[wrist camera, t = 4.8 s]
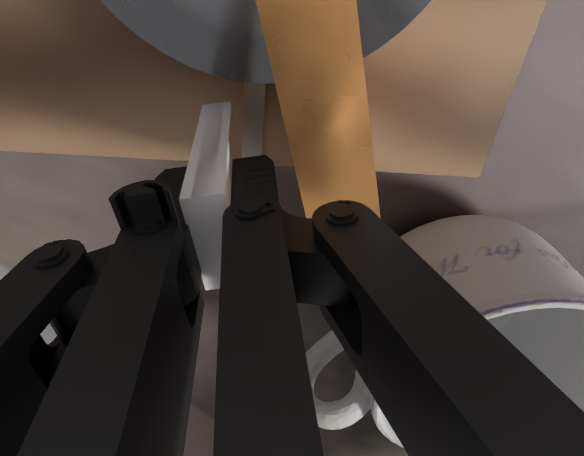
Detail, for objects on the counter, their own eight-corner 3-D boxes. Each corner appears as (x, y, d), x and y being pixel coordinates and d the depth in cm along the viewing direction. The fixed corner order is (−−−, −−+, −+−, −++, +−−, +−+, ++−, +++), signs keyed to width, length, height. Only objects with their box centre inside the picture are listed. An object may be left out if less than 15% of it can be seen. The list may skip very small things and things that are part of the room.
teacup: (559, 177, 21) (696, 289, 14) (510, 328, 27) (590, 455, 20) (275, 203, 21) (282, 328, 14) (291, 349, 27) (301, 483, 20)
